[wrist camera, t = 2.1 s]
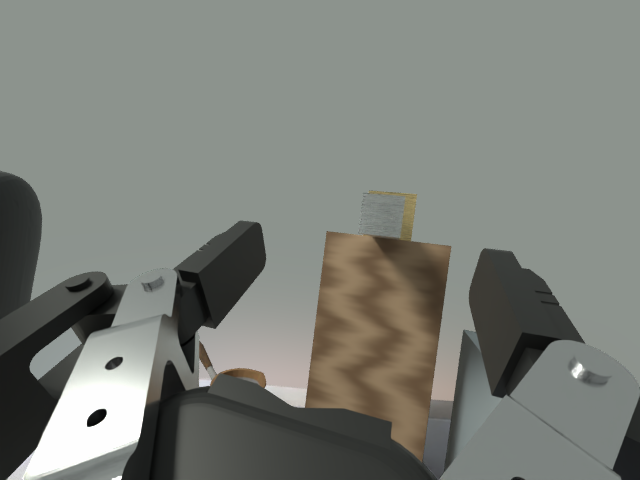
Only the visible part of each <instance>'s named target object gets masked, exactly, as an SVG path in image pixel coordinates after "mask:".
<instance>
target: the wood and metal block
mask: <svg viewBox="0 0 640 480" xmlns="http://www.w3.org/2000/svg"><path fill="white" fill-rule="evenodd" d="M416 197H417V194H406V193H393V192H379V191H369V193H363V200H362V208H361V216H360V224H359V232H358V233H360V234H364V235H363V236H371V237H379V238H387V239H396V240H404V241H411V236H412V228H413V220H414V212H415V205H416Z"/></svg>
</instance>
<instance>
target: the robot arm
mask: <svg viewBox="0 0 640 480" xmlns="http://www.w3.org/2000/svg"><path fill="white" fill-rule="evenodd" d="M41 228H42V214H41V209H40V203H39V200H38V198H37V195H36V193H35V192H34V190H33V189H32V187H31V186H30V185H29V184H28V183H27V182H26V181H24V180H23V179H22V178H20V177H18V176H15V175H13V174H10V173H6V172H2V171H0V480H7V479H8V477H9V476H10V475H11V474H12V473H13V472H14V471H15V470H16V469H17V468H18V467H19V466H20V465H21V464H22V463H23V462H24V461H25V460H26V459H27V458H28V457H29V456H30V455H31V454H32V453H33V451H34V450H35V449H36V448H37V449H36V451H35V453H34V455H33V457H32V460H31V462H30V464H29V466H28V468H27V470H26V473H25V475H24V477H23V479H22V480H437V479H436V478H435V476H434V475H433V474H432V473H431V472H430V471H429V470H428V468H427V467H426V466H425V465H424V464H423V463H422V462H421V461H420V460H419V459H418V458H417V457H416V456H415V455H414V454H413V453H411V452H410V451H409V450H408V449H406V448H405V447H404V446H402V445H401V444H400V443H398V442H396V441H395V440H393V439H391V429H392V422H390V421H386V420H383V419H379V418H376V417H372V416H369V415H365V414H362V413H358V412H355V411H351V410H348V409H344V408H297V407H293V406H291V405H289V404H287V403H286V402H284V401H283V400H281V399H280V398H278V397H277V396H275V395H274V394H272V393H271V392H269V391H267V390H266V389H264V388H263V387H261V386H260V385H258V384H257V383H253V382H250V381H246V380H243V379H239V378H236V377H232V376H229V375H225V374H222V373H219V375H218V376H217V378H216V379H215V381H214V382H213V384H212V385H211V386H206V387H199V334H198V331H197V330H198V329H199V328H200V327H201V326H206V327H210V328H214V329H216V327H217V326H218V325H219V324H220V323H221V321H222V320H223V319H224V318H225V316H226V315H227V314H228V312H229V311H230V310H231V309H232V308H233V306H234V305H235V304H236V303H237V301H238V300H239V299H240V297H241V296H242V295H243V294H244V293H245V291H246V290H247V289H248V288H249V287H250V285H251V284H252V283H253V282H254V280H255V279H256V278H257V276H258V275H259V274H260V273H261V272H262V270H263V269H264V266H265V262H266V253H265V246H264V240H263V233H262V228H261V225H260V224H259V223H257V222H249V221H239V222H238V223H236V224H235V225H234V226H233V227H231V228H230V229H229V230H227V231H226V232H224V233H222V234H219V235H217V236H215V237H214V238H213V239H211V240H210V241H209V242H208V243H207V244H206V245H204V246H202V247H201V248H200V249H199V251H196V252H195V253H193V254H192V255H191V256H189V257H188V258H187V259H186V260H184V261H183V262H182V263H181V264H179V265H178V266H177V267H175V268H174V269H173V270H172V269H168V268H162V269H155V270H151V271H148V272H145V273H143V274H141V275H139V276H137V277H136V278H134V279H133V280H132V281H131V282H130V283H129V284H126V285H111V283H110V281H109V279H108V277H107V276H106V274H105V273H103V272H88V273H83V274H80V275H77V276H74V277H72V278H69V279H67V280H65V281H63V282H62V283H60V284H58V285H57V286H55V287H53V288H52V289H50V290H48V291H47V292H45V293H43V294H42V295H40V296H38V297H37V298H35V299H34V300H32V301H30V299H31V293H32V286H33V281H34V275H35V270H36V265H37V260H38V253H39V248H40V240H41ZM469 304H470V308H471V313H472V317H473V321H474V325H475V329H476V333H477V338H478V342H479V346H480V350H481V354H482V358H483V362H484V366H485V370H486V374H487V378H488V382H489V386H490V390H491V395H492V396H495V397H499V398H503V399H502V400H501V401H500V402H499V404H498V405H497V406H496V407H495V409H494V410H493V411H492V413H491V414H490V415H489V416H488V418H487V419H486V420H485V421H484V423H483V424H482V425H481V427H480V428H479V429H478V430H477V432H476V433H475V434H474V435H473V437H472V438H471V439H470V441H469V442H468V443H467V444H466V446H465V447H464V448H463V449H462V451H461V452H460V453H459V455H458V456H457V457H456V458H455V460H454V461H453V462H452V463H451V465H450V466H449V467H448V468H447V470H446V471H445V472H444V474H443V475H442V476H441V477H440V479H439V480H640V387H639V385H638V383H637V381H636V379H635V378H634V376H633V375H632V374H631V373H630V372H629V371H628V370H627V369H626V368H625V367H624V366H623V365H622V364H621V363H619V362H618V361H617V360H615V359H614V358H612V357H611V356H609V355H608V354H606V353H604V352H602V351H601V350H599V349H596V348H594V347H592V346H589V345H586V344H585V342H584V341H583V339H582V338H581V336H580V335H579V333H578V331H577V330H576V328H575V327H574V326H573V324H572V322H571V321H570V319H569V318H568V316H567V315H566V313H565V312H564V310H563V309H562V307H561V306H559V302H558V301H557V299H556V298H555V296H553V295H552V292H551V290H550V289H549V287H548V285H547V284H546V282H545V281H544V280H543V279H542V278H540V277H539V276H538V275H536V274H535V273H534V272H532V271H531V270H530V269H523V268H521V266H520V264H519V263H518V261H517V259H516V257H515V256H514V254H513V252H511V251H504V250H495V249H486V248H485V249H483V250H482V252H481V254H480V257H479V260H478V264H477V267H476V270H475V273H474V276H473V279H472V283H471V286H470V291H469ZM70 327H71V328H72V329H73V331H74V332H75V334H76V335H77V336H78V338H79V339H80V341H81V342H82V344H81V345H80V346H78V347H77V348H76V349H75V350H74V351H72V352H71V353H70V354H69V355H68V356H66V357H65V358H64V359H63V360H62V361H60V362H59V363H58V364H57V365H56V366H55V367H53V368H52V369H51V370H50V371H49V372H47V373H46V374H45V375H44V376H43V377H42V378H40V379H39V380H37V379H36V378H35V377H34V376H33V374H32V373H31V372H30V368H29V366H30V362H31V360H32V358H33V357H34V356H35V355H36V353H38V352H39V351H40V350H41V349H43V348H44V347H45V346H46V345H48V344H49V343H51V342H52V341H53V340H55V339H56V338H57V337H58V336H60V335H61V334H62V333H64V332H65V331H66V330H68V329H69V328H70Z"/></svg>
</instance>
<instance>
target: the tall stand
mask: <svg viewBox="0 0 640 480" xmlns="http://www.w3.org/2000/svg"><path fill="white" fill-rule="evenodd" d="M450 252H451V246H445V245H438V244H429V243H421V242H413V241H404V240H396V239H387V238H379V237H371V236H362V235H354V234H346V233H337V232H328V231H327V233H326V242H325V250H324V258H323V267H322V275H321V282H320V290H319V299H318V307H317V315H316V323H315V331H314V339H313V347H312V356H311V363H310V371H309V380H308V388H307V396H306V404H305V408H344V409H348V410H351V411H355V412H358V413H362V414H365V415H369V416H372V417H376V418H379V419H383V420H386V421H390V422H392V429H391V439H393V440H395V441H396V442H398V443H400V444H401V445H402V446H404V447H405V448H406V449H408V450H409V451H410V452H411V453H413V454H414V455H415V456H416V457H417V458H418V459H419V460H420V461H421V462H422V460H423V453H424V445H425V438H426V430H427V423H428V415H429V408H430V400H431V393H432V385H433V378H434V371H435V363H436V356H437V347H438V341H439V333H440V326H441V319H442V311H443V303H444V296H445V288H446V281H447V274H448V267H449V259H450Z"/></svg>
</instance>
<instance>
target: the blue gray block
mask: <svg viewBox="0 0 640 480" xmlns="http://www.w3.org/2000/svg"><path fill="white" fill-rule="evenodd" d="M502 399H503V398H499V397H495V396H492V395H491V390H490V386H489V382H488V378H487V374H486V370H485V366H484V362H483V358H482V354H481V350H480V346H479V342H478V338H477V333H476V332H473V331H468V330H463V336H462V344H461V352H460V358H459V366H458V374H457V380H456V388H455V395H454V402H453V410H452V417H451V424H450V432H449V439H448V446H447V454H446V461H445V468H444V472H445V471H446V470H447V468H448V467H449V466H450V465H451V463H452V462H453V461H454V460H455V458H456V457H457V456H458V455H459V453H460V452H461V451H462V449H463V448H464V447H465V446H466V444H467V443H468V442H469V441H470V439H471V438H472V437H473V435H474V434H475V433H476V432H477V430H478V429H479V428H480V427H481V425H482V424H483V423H484V421H485V420H486V419H487V418H488V416H489V415H490V414H491V413H492V411H493V410H494V409H495V407H496V406H497V405H498V404H499V402H500V401H501V400H502Z"/></svg>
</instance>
